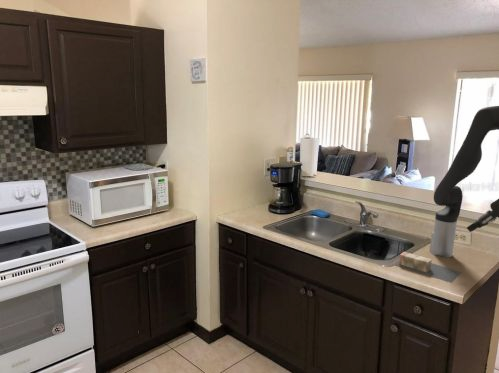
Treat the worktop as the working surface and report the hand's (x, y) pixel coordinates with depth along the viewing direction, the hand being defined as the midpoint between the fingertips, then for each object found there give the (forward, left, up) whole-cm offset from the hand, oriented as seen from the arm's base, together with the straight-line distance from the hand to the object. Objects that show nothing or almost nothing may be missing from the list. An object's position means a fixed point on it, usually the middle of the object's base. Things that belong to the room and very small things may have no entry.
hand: (468, 229), depth 165 cm
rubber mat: (-12, -7, -22) cm, 26 cm away
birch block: (-10, -8, -19) cm, 23 cm away
